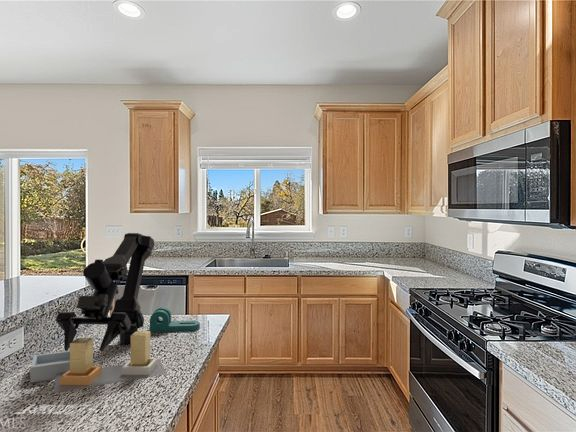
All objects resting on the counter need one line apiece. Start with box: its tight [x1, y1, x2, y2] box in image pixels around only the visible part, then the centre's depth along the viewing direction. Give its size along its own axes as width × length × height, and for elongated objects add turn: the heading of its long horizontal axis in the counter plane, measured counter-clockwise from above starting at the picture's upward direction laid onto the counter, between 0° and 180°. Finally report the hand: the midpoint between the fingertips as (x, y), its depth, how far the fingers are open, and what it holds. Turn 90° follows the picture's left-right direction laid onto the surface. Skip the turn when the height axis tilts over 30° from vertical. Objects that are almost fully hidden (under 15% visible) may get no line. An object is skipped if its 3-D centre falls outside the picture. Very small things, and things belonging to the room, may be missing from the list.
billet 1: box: [69, 337, 94, 376], centre depth 105 cm, size 4×4×10 cm
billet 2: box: [130, 330, 151, 366], centre depth 111 cm, size 4×4×10 cm
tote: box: [29, 350, 70, 384], centre depth 112 cm, size 10×10×4 cm
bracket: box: [149, 306, 201, 333], centre depth 155 cm, size 18×7×8 cm, turn 98°
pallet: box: [52, 357, 167, 394], centre depth 108 cm, size 12×26×4 cm, turn 117°
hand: (83, 350), depth 106 cm, fingers open, 9 cm apart
